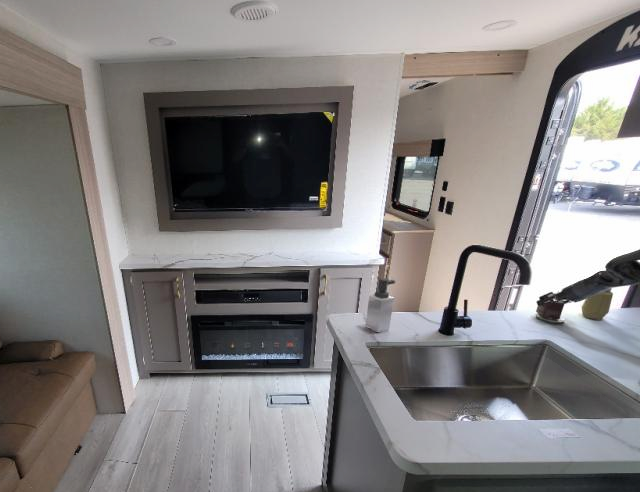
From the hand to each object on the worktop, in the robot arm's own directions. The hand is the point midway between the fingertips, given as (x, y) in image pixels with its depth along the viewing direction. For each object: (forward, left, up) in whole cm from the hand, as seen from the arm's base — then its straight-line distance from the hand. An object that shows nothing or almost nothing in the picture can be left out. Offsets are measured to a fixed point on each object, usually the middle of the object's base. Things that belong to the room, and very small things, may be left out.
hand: (548, 303), depth 139 cm
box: (0, +1, -5) cm, 5 cm away
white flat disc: (-1, +3, -6) cm, 7 cm away
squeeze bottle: (-18, -6, -6) cm, 20 cm away
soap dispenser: (+65, +36, -6) cm, 74 cm away
